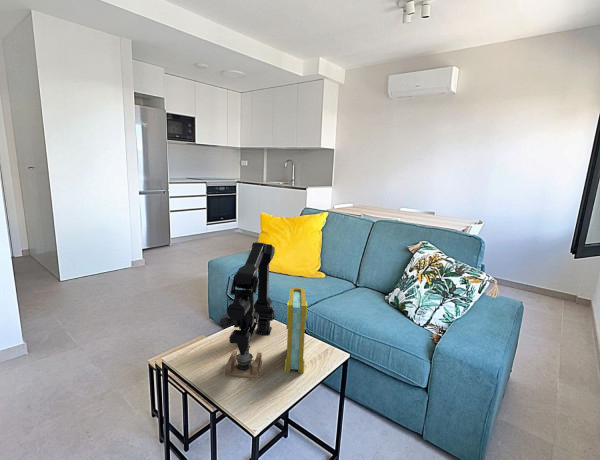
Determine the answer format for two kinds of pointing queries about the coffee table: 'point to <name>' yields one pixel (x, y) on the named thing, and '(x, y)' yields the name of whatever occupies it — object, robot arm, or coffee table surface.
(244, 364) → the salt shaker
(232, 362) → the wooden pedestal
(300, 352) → the book
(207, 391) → the coffee table surface
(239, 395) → the coffee table surface
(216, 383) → the coffee table surface
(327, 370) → the coffee table surface
